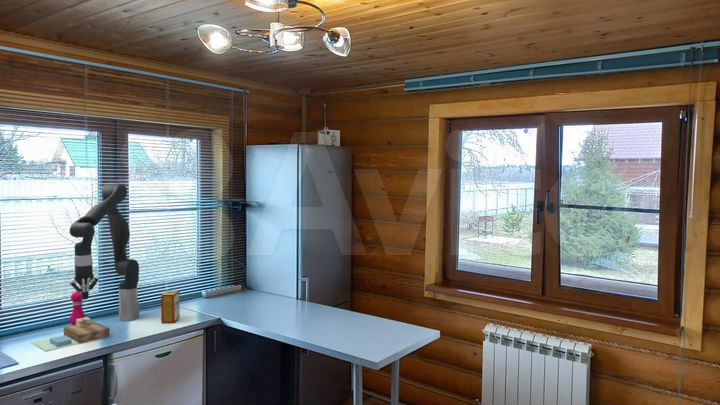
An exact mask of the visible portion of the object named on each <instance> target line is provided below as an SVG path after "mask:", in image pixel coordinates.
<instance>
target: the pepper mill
mask: <svg viewBox="0 0 720 405" xmlns="http://www.w3.org/2000/svg"><path fill="white" fill-rule="evenodd" d="M70 301H71V305H72V312H71V315H70V316H69V321H70V323H71V325H70V326H73V325H76V319H79V318H84V317H87V316H86V314H85V312H84V310H83V304H84V300H83V299H82V298H81V292H79V291H77V290H75V289H74V292H73V293H72V294H71V295H70Z"/></svg>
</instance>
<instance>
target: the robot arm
mask: <svg viewBox="0 0 720 405" xmlns="http://www.w3.org/2000/svg"><path fill="white" fill-rule="evenodd" d="M127 194H128V189H127V186H126V185H125V184H122V183H107V184H103V186H102V188H101V197H102V201H101V202H99V203H97V204H95V205H94V206H92V207H91V208H90V209H89V210H88V211H87V213H85V215H83V216H82V217H80V218H78V219H77V220H75V221H74V222H73V223H72V224H71V225H70V227H69V234H70V235H71V237H73V238H82V240H81V241H80V242H76V243H75V244H74V279H73V280H72V281H70V282H69V285H70V286H71V287H72V288H73V289H74V291H75V290H77V291H79V292H81V298H82V299H83V300H82V301H85V300H88V299H89V297H90V296H89V295H90V294H89V293H90V291H91V290H93V289H94V287H95V286H96V285H97V283H98V282H99V278H97V277H95V274H93V273H94V268H93V267H94V266H93V265H94V264H93V262H94V261H93V254H92V244H93V240H94V237H95V231H96V230H95V227H96V226H97V225H98V224H99V223H100V222H101V221H102V219H103V218H104V217H105V216H106V215H107V221H108V225H109V233H110V237H111V244H112V248H113V250H112V251H113V258H114V259H113V260H114V270H115V272H116V274H118V275H120V276H124V280H123V281H122V282H119V283H118V308H119V309H118V318H119V319H118V320H119V321H121V322H128V321H133V320H136V319H139V318H140V300H138V284H139V281H140V276H139V275H140V264H139V262H138V261H137V259H133V258H128V256H127V249H126V248H127V245H128V242H129V240H130V236H131V234H130V227H129V223H128V221H127V220H126V218H125V217H124V216H123V215H122V214H121V212H120V211H119V209H118V205H119V204H120V203H122V202H123V201H124V200H125V199H126V198H127ZM77 284H78V285H77Z"/></svg>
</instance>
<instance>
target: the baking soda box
mask: <svg viewBox="0 0 720 405" xmlns="http://www.w3.org/2000/svg"><path fill="white" fill-rule="evenodd" d="M160 295H161V296H160V299H161V300H160V302H161V303H160V304H161V305H160V308H161V314H160V315H161V316H160V319H161V320H160V321H161V325H162V324H163V325H164V324H169V325H170V324H175V323H176V322H177V321H178V320H180V315H181V314H180V290H166V291H165V292H164V293H162V294H160Z"/></svg>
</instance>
